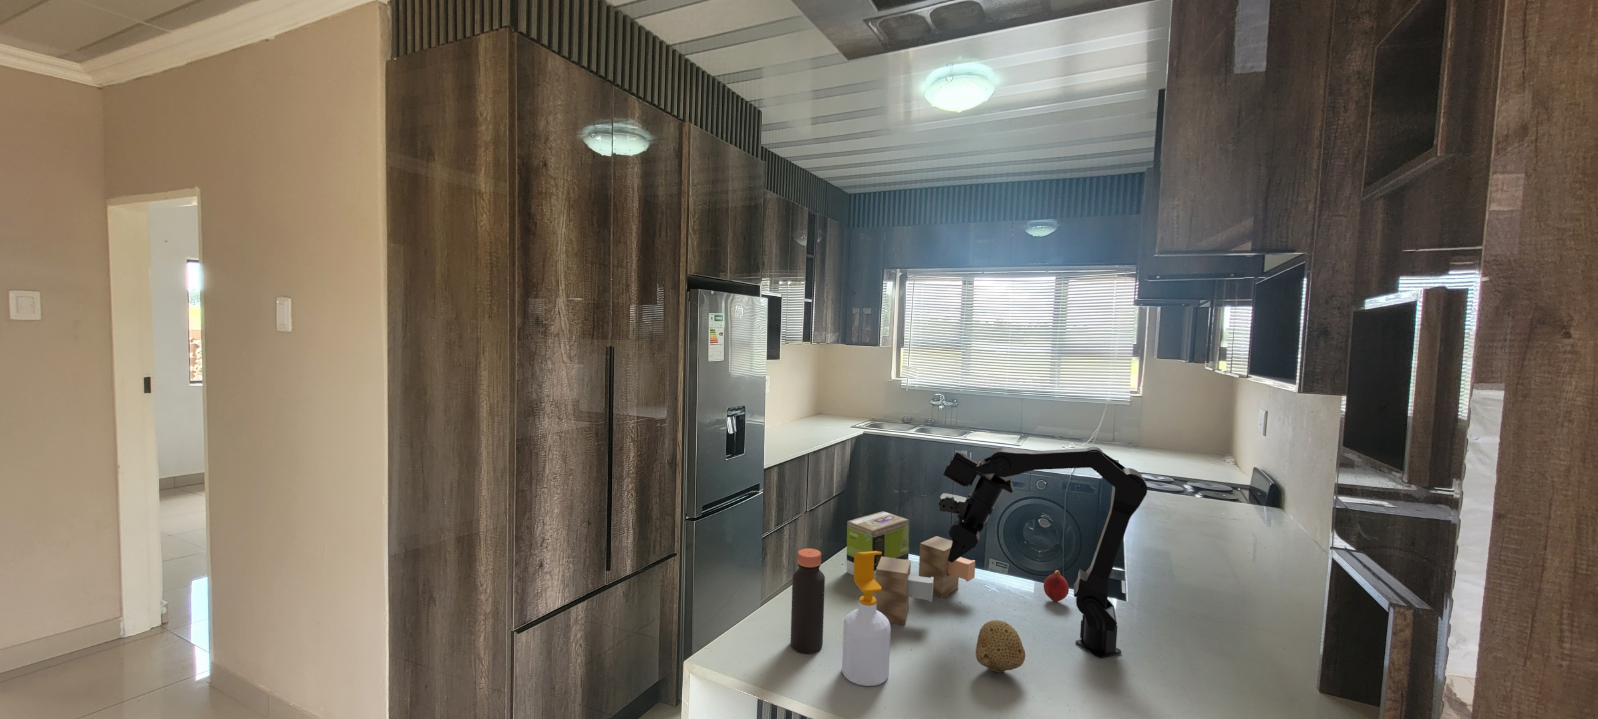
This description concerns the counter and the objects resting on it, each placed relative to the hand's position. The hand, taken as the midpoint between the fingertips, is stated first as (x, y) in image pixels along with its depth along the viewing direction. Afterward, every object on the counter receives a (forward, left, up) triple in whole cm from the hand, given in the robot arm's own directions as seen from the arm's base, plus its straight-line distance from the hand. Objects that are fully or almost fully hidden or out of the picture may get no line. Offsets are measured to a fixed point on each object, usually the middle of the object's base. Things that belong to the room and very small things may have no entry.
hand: (953, 554), depth 140 cm
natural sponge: (-23, +5, -15) cm, 28 cm away
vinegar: (-1, +37, -15) cm, 40 cm away
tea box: (+28, +4, -15) cm, 32 cm away
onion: (-2, -30, -15) cm, 33 cm away
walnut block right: (+13, -6, -15) cm, 21 cm away
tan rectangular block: (+8, -8, -9) cm, 15 cm away
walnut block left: (+5, +13, -15) cm, 20 cm away
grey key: (+2, +9, -9) cm, 13 cm away
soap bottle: (-14, +30, -15) cm, 37 cm away
